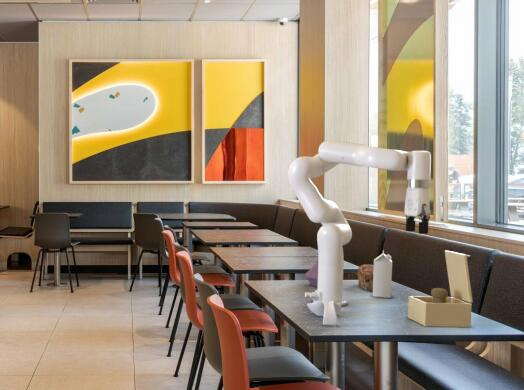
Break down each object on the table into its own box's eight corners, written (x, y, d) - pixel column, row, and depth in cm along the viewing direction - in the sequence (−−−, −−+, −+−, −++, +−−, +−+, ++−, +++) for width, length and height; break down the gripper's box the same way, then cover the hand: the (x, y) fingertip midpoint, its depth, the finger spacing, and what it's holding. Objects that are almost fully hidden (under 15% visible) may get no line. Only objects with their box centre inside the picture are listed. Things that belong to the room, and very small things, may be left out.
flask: (308, 281, 298) (310, 239, 297) (344, 285, 290) (345, 242, 289) (298, 286, 284) (300, 242, 283) (336, 290, 275) (337, 245, 275)
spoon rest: (305, 310, 231) (305, 291, 231) (338, 312, 230) (338, 292, 229) (313, 325, 208) (313, 303, 208) (349, 327, 206) (350, 305, 206)
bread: (357, 284, 293) (357, 263, 293) (380, 285, 291) (381, 264, 291) (364, 291, 275) (365, 268, 275) (389, 292, 273) (390, 269, 273)
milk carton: (372, 296, 262) (374, 251, 262) (372, 294, 269) (374, 250, 268) (390, 298, 260) (392, 252, 259) (390, 295, 266) (392, 251, 266)
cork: (450, 322, 214) (451, 290, 213) (431, 321, 215) (432, 289, 215) (445, 318, 220) (446, 287, 219) (426, 317, 221) (427, 286, 220)
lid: (464, 255, 210) (477, 252, 210) (444, 250, 223) (457, 248, 223) (470, 302, 211) (484, 300, 211) (450, 295, 223) (463, 293, 224)
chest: (425, 326, 211) (425, 303, 210) (407, 317, 223) (408, 296, 223) (470, 327, 211) (471, 304, 211) (451, 318, 224) (451, 296, 223)
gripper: (397, 184, 234) (395, 230, 235) (419, 185, 217) (417, 234, 217) (417, 185, 234) (415, 230, 235) (441, 185, 217) (439, 234, 218)
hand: (416, 232), depth 226 cm, fingers open, 9 cm apart
